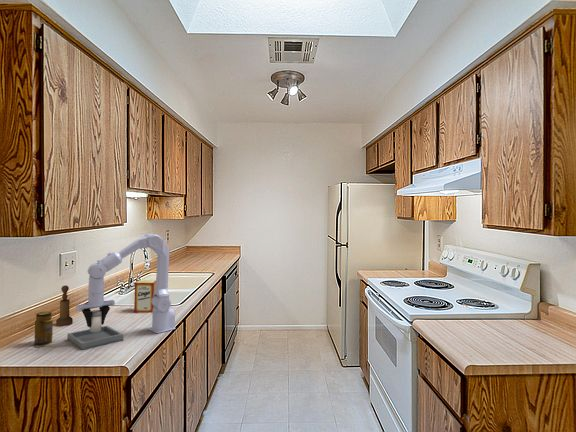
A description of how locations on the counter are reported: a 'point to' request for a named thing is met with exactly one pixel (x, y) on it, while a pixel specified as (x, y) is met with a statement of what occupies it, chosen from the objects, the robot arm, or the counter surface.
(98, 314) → the shaker
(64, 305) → the brown pepper mill
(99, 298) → the robot arm
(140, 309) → the spice box
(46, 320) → the condiment
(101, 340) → the tray
